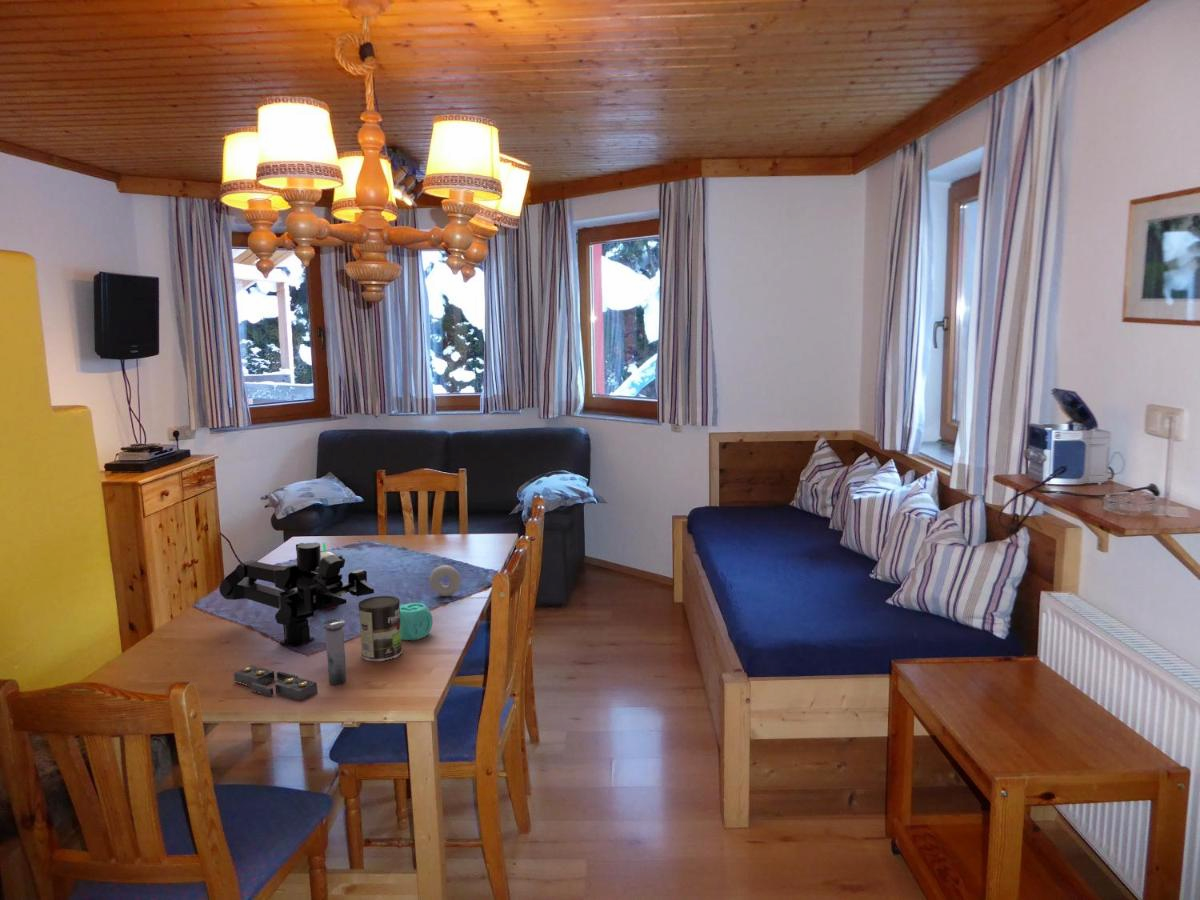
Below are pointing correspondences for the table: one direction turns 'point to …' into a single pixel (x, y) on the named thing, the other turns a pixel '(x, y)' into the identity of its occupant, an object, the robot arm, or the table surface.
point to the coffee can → (380, 628)
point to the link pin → (335, 651)
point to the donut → (451, 574)
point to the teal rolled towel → (415, 621)
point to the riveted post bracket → (287, 687)
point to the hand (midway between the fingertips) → (360, 596)
